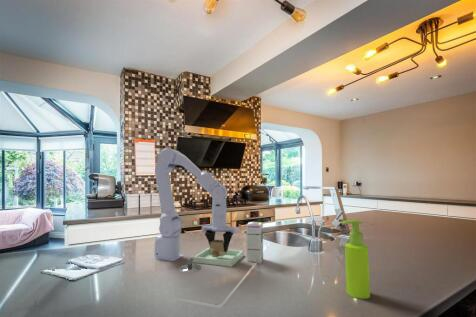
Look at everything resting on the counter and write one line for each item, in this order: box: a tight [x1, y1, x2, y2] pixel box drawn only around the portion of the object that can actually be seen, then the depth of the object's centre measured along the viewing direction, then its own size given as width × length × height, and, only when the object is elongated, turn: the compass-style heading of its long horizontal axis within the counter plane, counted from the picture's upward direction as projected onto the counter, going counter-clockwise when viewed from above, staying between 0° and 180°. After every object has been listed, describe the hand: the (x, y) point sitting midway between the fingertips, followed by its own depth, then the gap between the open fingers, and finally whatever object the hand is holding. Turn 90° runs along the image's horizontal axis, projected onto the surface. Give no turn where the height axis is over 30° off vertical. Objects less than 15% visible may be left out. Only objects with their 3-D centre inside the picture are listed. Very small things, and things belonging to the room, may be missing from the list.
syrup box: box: [245, 221, 264, 264], centre depth 98 cm, size 6×6×14 cm
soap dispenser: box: [340, 219, 371, 300], centre depth 70 cm, size 6×7×20 cm
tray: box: [192, 247, 244, 268], centre depth 98 cm, size 16×14×2 cm
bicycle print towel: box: [42, 253, 125, 281], centre depth 91 cm, size 19×20×2 cm
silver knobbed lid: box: [177, 257, 202, 274], centre depth 88 cm, size 8×8×4 cm
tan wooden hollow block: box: [209, 238, 228, 257], centre depth 98 cm, size 7×5×5 cm
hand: (219, 250), depth 99 cm, fingers closed on tan wooden hollow block, 5 cm apart
